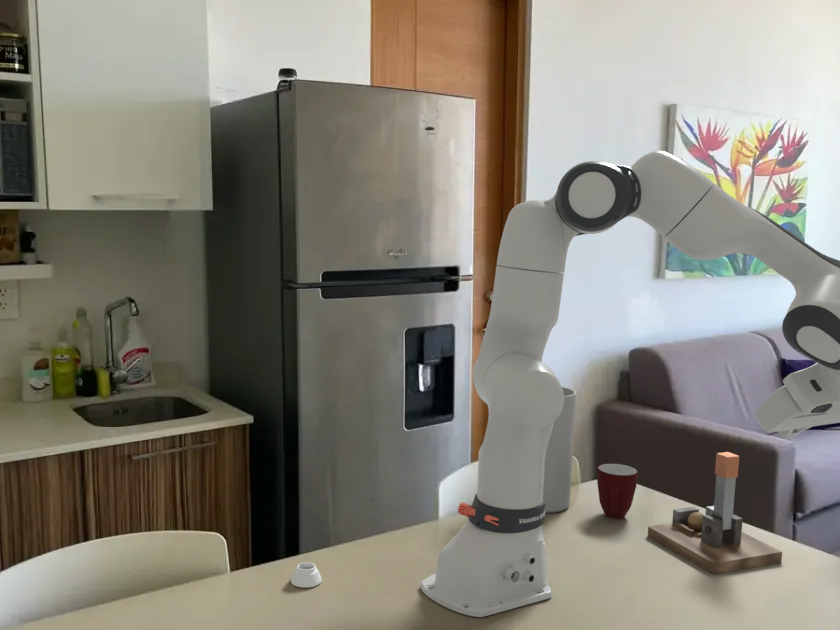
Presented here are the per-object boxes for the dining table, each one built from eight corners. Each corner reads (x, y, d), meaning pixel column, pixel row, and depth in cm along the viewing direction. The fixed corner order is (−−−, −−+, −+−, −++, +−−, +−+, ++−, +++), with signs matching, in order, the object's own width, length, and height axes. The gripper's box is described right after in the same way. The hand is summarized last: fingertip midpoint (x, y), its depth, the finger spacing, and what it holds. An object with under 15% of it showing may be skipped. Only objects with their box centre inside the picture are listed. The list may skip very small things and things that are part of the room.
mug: (637, 528, 162) (640, 480, 161) (596, 525, 163) (599, 477, 162) (632, 510, 173) (635, 465, 171) (594, 507, 174) (596, 462, 173)
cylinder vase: (509, 511, 170) (515, 394, 167) (512, 491, 182) (518, 382, 179) (570, 516, 168) (576, 398, 165) (569, 496, 180) (575, 386, 177)
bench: (713, 574, 142) (716, 536, 141) (647, 536, 159) (650, 501, 158) (781, 562, 148) (784, 525, 147) (711, 526, 165) (714, 493, 164)
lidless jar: (286, 587, 132) (315, 591, 131) (286, 570, 131) (316, 574, 130) (296, 574, 137) (325, 578, 136) (296, 558, 136) (325, 561, 135)
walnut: (700, 534, 155) (701, 517, 154) (683, 529, 157) (685, 512, 157) (709, 530, 157) (710, 513, 157) (692, 525, 160) (694, 508, 159)
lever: (721, 530, 149) (727, 457, 147) (704, 522, 153) (709, 450, 152) (733, 529, 150) (739, 456, 149) (715, 520, 154) (721, 449, 153)
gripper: (871, 365, 133) (818, 412, 143) (779, 375, 125) (730, 424, 135) (895, 397, 129) (840, 443, 139) (802, 409, 121) (750, 457, 131)
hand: (785, 434), depth 137 cm, fingers closed
